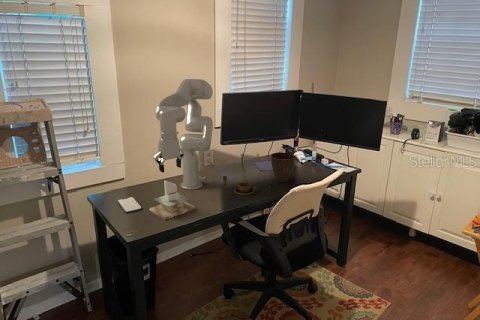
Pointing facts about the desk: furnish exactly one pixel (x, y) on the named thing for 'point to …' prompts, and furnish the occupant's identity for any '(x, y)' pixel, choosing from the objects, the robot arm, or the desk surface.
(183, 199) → the stand
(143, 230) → the desk surface
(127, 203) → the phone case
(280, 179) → the plant pot
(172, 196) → the white wedge bracket
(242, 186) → the place setting
